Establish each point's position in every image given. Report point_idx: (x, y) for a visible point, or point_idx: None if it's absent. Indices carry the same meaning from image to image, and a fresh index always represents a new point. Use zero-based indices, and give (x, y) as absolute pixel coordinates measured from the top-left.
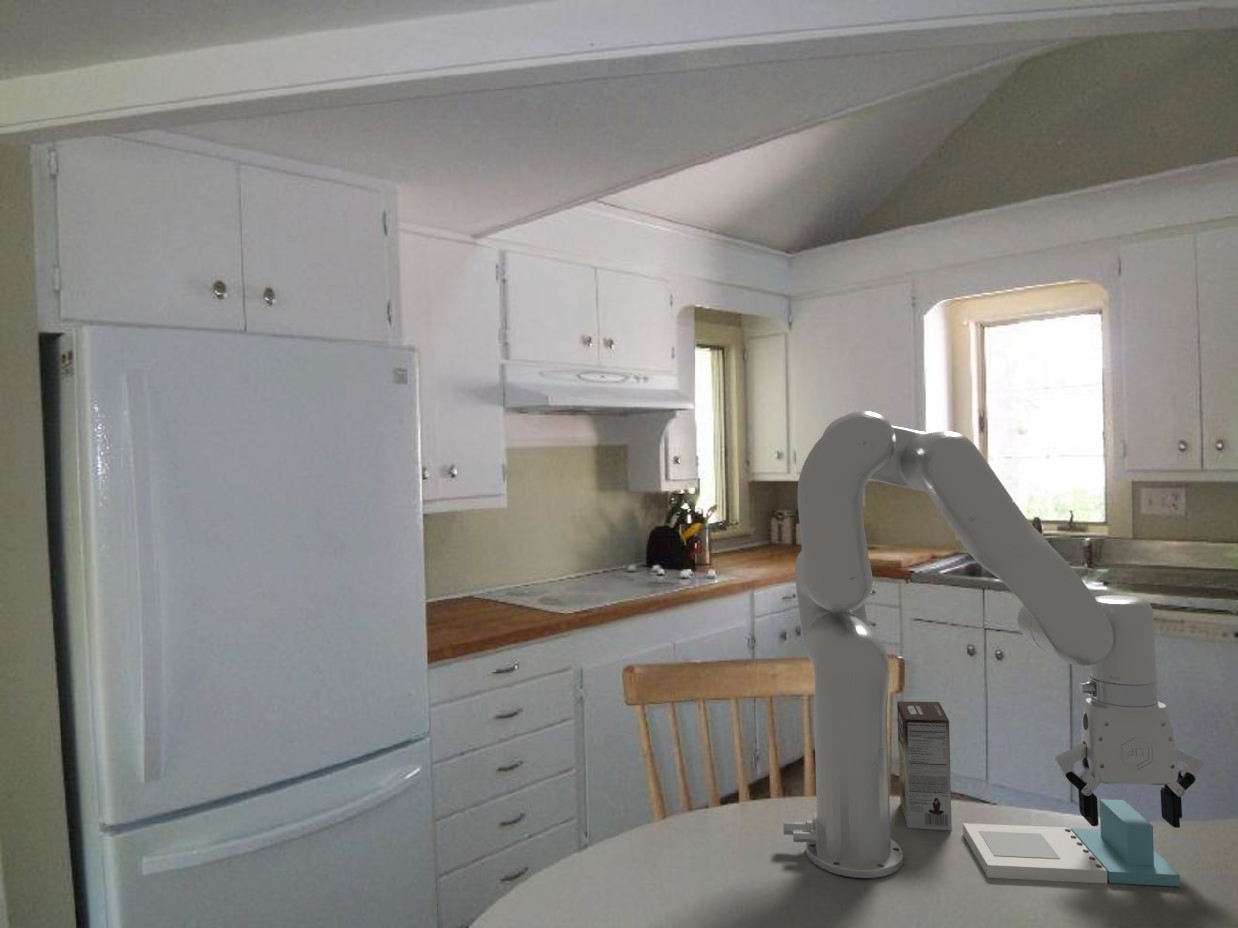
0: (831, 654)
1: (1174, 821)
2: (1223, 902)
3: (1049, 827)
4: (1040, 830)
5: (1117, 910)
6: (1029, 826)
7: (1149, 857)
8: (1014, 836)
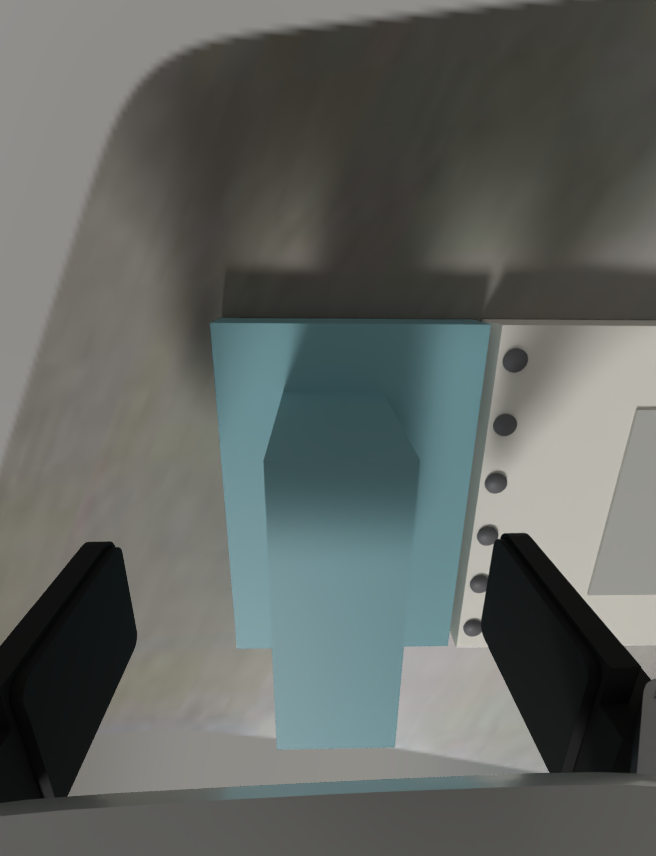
0: None
1: (99, 562)
2: (102, 206)
3: None
4: None
5: (563, 84)
6: None
7: (298, 401)
8: None
